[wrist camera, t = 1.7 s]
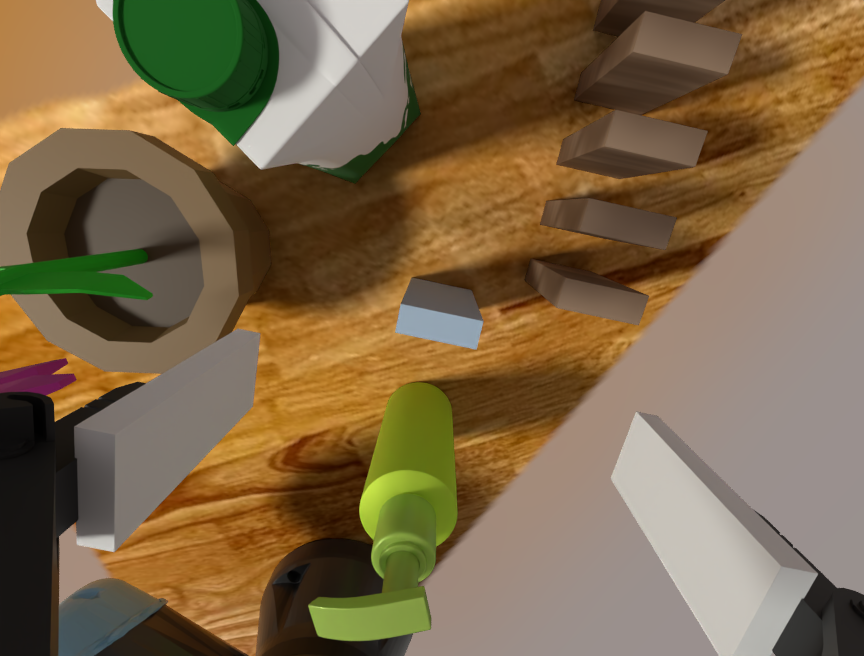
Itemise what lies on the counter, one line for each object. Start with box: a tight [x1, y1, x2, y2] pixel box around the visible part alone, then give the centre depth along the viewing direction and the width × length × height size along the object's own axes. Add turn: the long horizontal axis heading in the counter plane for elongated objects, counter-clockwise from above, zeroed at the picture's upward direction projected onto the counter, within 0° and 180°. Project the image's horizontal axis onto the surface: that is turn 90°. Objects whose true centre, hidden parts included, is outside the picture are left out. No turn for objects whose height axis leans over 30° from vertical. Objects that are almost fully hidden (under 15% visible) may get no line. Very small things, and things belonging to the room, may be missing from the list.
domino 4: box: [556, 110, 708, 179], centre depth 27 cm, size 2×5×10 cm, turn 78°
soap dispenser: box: [308, 382, 458, 641], centre depth 29 cm, size 6×7×20 cm
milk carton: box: [96, 0, 421, 184], centre depth 22 cm, size 9×9×20 cm
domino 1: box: [395, 278, 483, 349], centre depth 30 cm, size 2×5×10 cm, turn 78°
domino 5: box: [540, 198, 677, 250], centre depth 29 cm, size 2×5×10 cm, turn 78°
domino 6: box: [525, 259, 649, 325], centre depth 30 cm, size 2×5×10 cm, turn 78°
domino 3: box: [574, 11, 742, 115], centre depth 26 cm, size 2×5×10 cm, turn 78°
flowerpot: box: [0, 128, 271, 395], centre depth 20 cm, size 14×14×30 cm
